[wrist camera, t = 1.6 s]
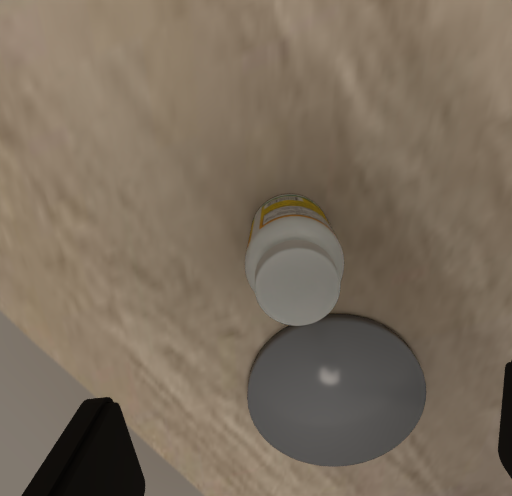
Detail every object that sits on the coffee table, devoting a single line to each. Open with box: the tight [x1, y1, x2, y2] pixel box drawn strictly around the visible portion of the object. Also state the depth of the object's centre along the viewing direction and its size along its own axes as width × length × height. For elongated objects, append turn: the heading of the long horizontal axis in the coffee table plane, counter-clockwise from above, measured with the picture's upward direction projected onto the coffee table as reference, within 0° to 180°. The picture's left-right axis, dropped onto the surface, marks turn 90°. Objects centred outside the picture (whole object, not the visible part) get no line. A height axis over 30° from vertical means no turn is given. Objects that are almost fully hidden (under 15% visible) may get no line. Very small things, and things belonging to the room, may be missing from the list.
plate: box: [247, 314, 426, 466], centre depth 30 cm, size 14×14×1 cm
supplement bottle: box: [245, 194, 344, 326], centre depth 21 cm, size 5×5×10 cm
